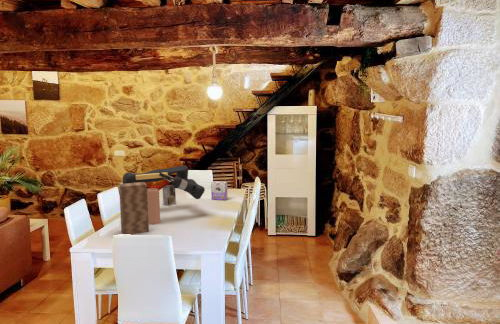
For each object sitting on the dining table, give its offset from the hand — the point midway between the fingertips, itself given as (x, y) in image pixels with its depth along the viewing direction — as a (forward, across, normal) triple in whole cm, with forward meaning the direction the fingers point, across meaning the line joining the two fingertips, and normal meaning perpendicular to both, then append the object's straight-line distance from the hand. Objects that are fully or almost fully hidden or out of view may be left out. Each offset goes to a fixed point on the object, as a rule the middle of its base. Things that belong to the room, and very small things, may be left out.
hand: (159, 173), depth 274 cm
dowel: (+3, 0, +5) cm, 6 cm away
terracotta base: (-12, 0, +34) cm, 36 cm away
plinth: (+1, +16, +41) cm, 44 cm away
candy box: (-74, -45, -1) cm, 86 cm away
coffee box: (-34, -48, +21) cm, 63 cm away
